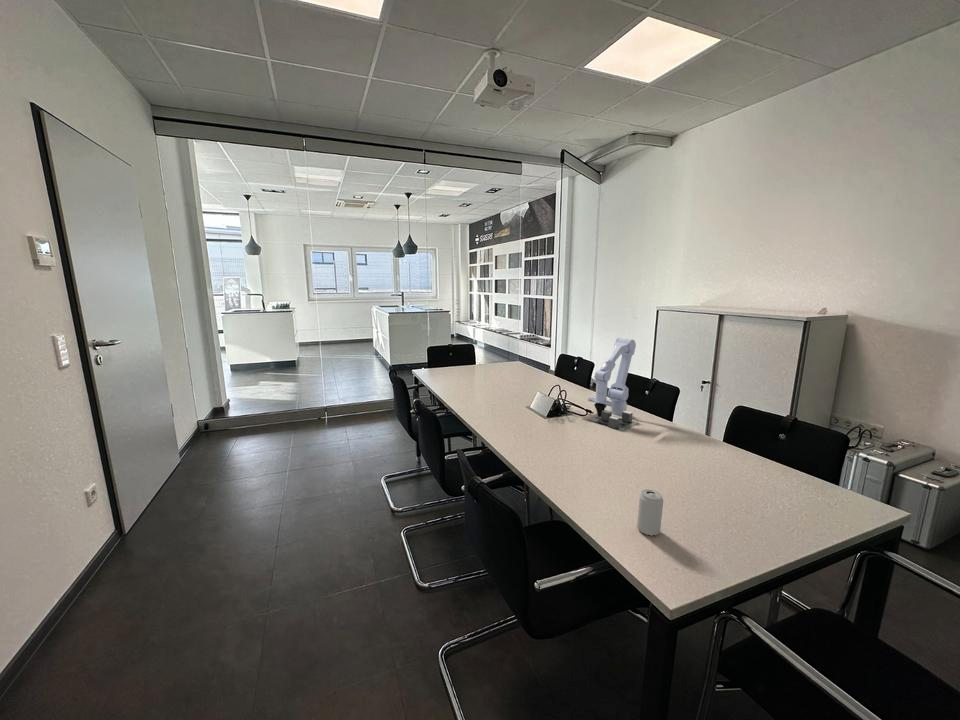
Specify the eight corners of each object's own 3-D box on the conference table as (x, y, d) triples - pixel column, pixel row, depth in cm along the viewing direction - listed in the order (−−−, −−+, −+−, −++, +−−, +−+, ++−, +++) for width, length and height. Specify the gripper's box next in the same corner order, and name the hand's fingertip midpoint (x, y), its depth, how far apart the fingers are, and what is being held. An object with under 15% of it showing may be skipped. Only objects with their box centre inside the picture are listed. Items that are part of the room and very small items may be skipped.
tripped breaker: (604, 417, 215) (604, 409, 215) (611, 419, 212) (611, 411, 212) (600, 419, 213) (601, 411, 212) (607, 421, 210) (608, 412, 209)
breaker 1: (611, 424, 205) (612, 415, 204) (619, 426, 202) (619, 417, 201) (608, 426, 202) (608, 417, 202) (615, 428, 199) (616, 419, 199)
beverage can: (653, 524, 121) (657, 488, 119) (664, 537, 115) (668, 499, 113) (633, 524, 121) (636, 488, 119) (642, 537, 115) (646, 499, 112)
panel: (599, 415, 226) (599, 412, 226) (639, 425, 209) (639, 422, 209) (581, 421, 214) (581, 419, 214) (622, 433, 197) (623, 430, 197)
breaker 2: (624, 418, 214) (625, 410, 213) (632, 420, 211) (632, 412, 210) (621, 420, 212) (622, 411, 211) (628, 422, 209) (629, 413, 208)
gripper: (585, 391, 216) (584, 414, 218) (609, 396, 205) (608, 421, 207) (592, 389, 220) (591, 412, 223) (616, 394, 210) (614, 418, 212)
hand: (599, 416), depth 215 cm, fingers closed
